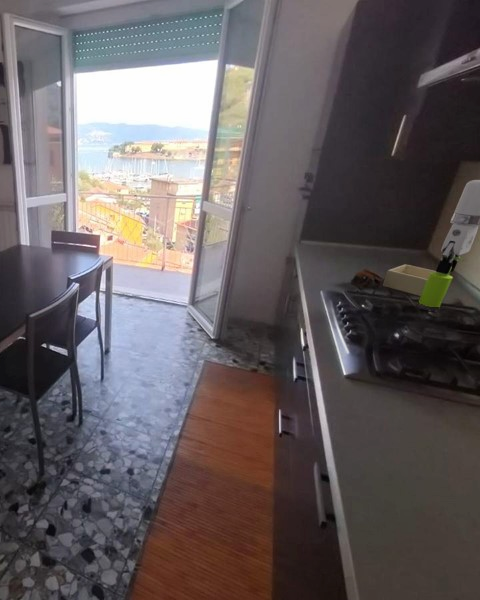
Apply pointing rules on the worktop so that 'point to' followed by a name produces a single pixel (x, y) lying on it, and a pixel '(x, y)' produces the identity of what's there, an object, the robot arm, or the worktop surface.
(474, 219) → the robot arm
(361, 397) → the worktop surface
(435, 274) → the soap dispenser
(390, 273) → the open rectangular box
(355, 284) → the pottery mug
